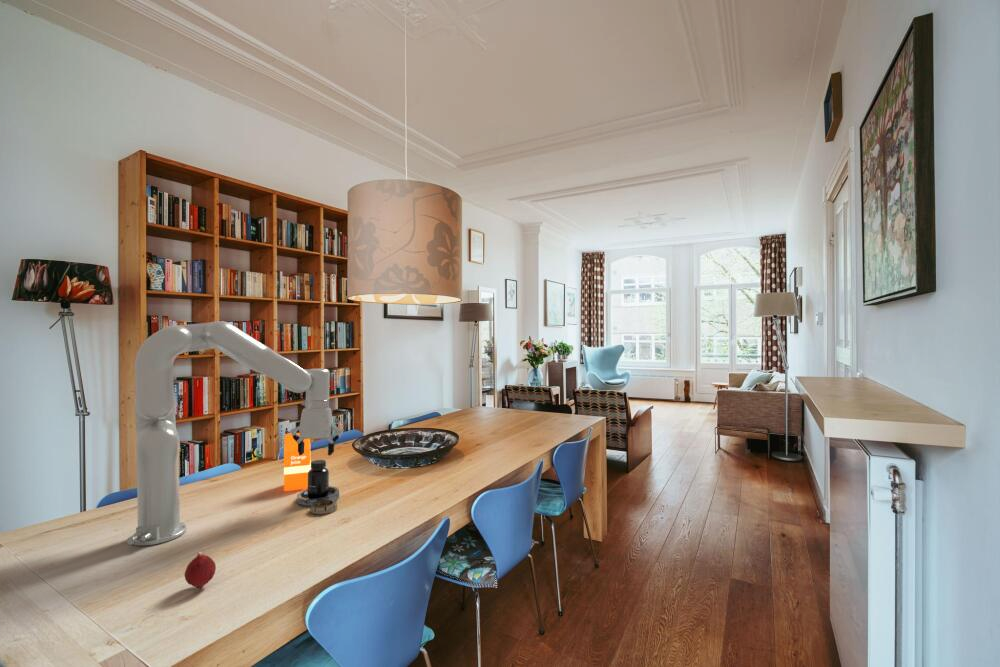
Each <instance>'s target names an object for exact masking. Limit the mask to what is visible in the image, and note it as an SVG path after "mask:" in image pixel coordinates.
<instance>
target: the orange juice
mask: <svg viewBox="0 0 1000 667" xmlns="http://www.w3.org/2000/svg"><path fill="white" fill-rule="evenodd" d="M296 433H297V435H298V436H299V432H296ZM299 437H300V436H299ZM303 442H304V443H305V445H304V454H302V455H299V452H298V443H297V442H296V441H295V440H294V439H293V436H292V435H291V433H285V434H284V445H283V446H284V448H283V482H284V483H283V484H284V485H283V489H284V490H283V491H284V492H288V491H290V492H291V491H296V490H306V489H308V472H309V470H311V462H312V461H311V439H304V440H303Z"/></svg>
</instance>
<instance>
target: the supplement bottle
mask: <svg viewBox="0 0 1000 667" xmlns="http://www.w3.org/2000/svg"><path fill="white" fill-rule="evenodd" d="M326 461H327V460H325V459H316V460H312V461H311V470H309V472H308V488H307V489H308V490H307V493H308V498H309V499H317V498H322V497H327V496H328V494H329V486H330V485H329V484H330V482H329V481H330V478H329V476H330V470H329V469H328V468H327V462H326Z"/></svg>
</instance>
